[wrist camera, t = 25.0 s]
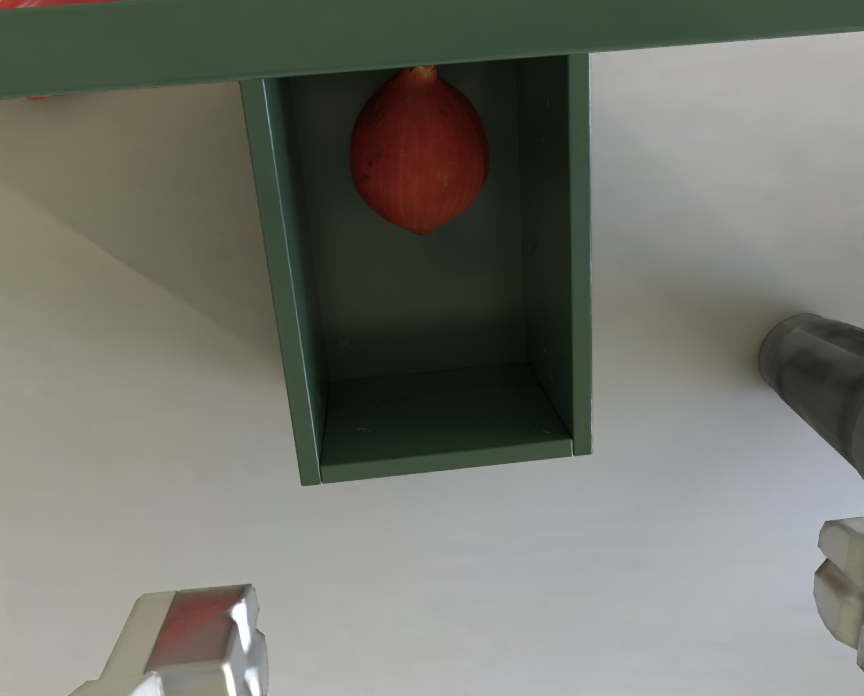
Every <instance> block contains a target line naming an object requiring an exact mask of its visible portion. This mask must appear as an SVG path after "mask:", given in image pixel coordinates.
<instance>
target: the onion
mask: <svg viewBox="0 0 864 696" xmlns="http://www.w3.org/2000/svg"><path fill="white" fill-rule="evenodd" d="M436 66H437V65H432V66H419V67H407V68H403V69H402V70H401V71H400V72H399V73H398V74H397V75H395V76H393V77H392V78H390V79H389V80H388V81H386V82H385V83H384V84H383V85H382V86H381V87H380V88H379V89H378V90H377V91H376V92H375V93H374V94H373V95H372V96H371V97H370V98H369V100H368V101H367V102H366V104H365V105H364V106H363V108H362V109H361V111H360V113H359V115H358V117H357V119H356V122H355V125H354V128H353V131H352V135H351V147H350V171H351V176H352V180H353V184H354V187H355V189H356V190H357V192H358V193H359V195H360V196H361V198H362V199H363V201H364V202H365V203H366V204H367V205H368V206H369V207H370V208H371V209H372V210H373V211H374V212H375V213H376V214H378V215H379V216H381V217H382V218H384V219H385V220H386V221H388V222H390V223H392V224H395V225H397V226H399V227H402V228H404V229H407V230H409V231H410V232H412V233H414V234H417V235H420V236H422V235H428V234H431V233H433V232H434V231H435V230H436V229H438V228H439V227H440V226H442V225H443V224H445V223H447V222H449V221H451V220H452V219H454V218H456V217H457V216H459V215H460V214H461V213H463V212H464V211H465V210H466V209H468V208H469V207H470V206H471V205H472V204H473V202H474V201H475V199H476V197H477V196H478V194H479V193H480V191H481V189H482V187H483V185H484V183H485V181H486V179H487V176H488V169H489V163H490V152H489V144H488V139H487V136H486V134H485V131H484V128H483V125H482V122H481V119H480V116H479V114H478V113H477V111H476V109H475V107H474V106H473V104H472V103H471V102H470V101H469V100H468V98H467V97H466V96H465V95H464V94H462V93H461V92H460V91H459V90H458V89H457V88H455V87H454V86H453V85H451V84H450V83H448V82H447V81H446V80H444V79H442V78H441V77H440V76H438V75H437V71H436Z"/></svg>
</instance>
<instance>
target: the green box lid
mask: <svg viewBox="0 0 864 696" xmlns="http://www.w3.org/2000/svg"><path fill="white" fill-rule="evenodd" d="M859 31H864V0H121V1H107V2H94V3H80V4H66V5H53V6H39V7H25V8H12V9H0V100H5V99H18V98H30V97H43V96H55V95H68V94H80V93H93V92H106V91H118V90H131V89H143V88H156V87H168V86H181V85H193V84H206V83H218V82H231V81H244V80H256V79H269V78H281V77H294V76H306V75H319V74H331V73H344V72H357V71H369V70H382V69H394V68H407V67H419V66H432V65H444V64H457V63H470V62H482V61H495V60H507V59H520V58H532V57H545V56H557V55H570V54H582V53H595V52H608V51H620V50H633V49H645V48H658V47H670V46H683V45H695V44H708V43H721V42H733V41H746V40H758V39H771V38H783V37H796V36H808V35H821V34H833V33H846V32H859Z"/></svg>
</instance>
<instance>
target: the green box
mask: <svg viewBox="0 0 864 696" xmlns="http://www.w3.org/2000/svg"><path fill="white" fill-rule="evenodd" d="M402 69H403V68H394V69H382V70H369V71H357V72H344V73H331V74H319V75H306V76H294V77H281V78H269V79H256V80H244V81H239V84H240V90H241V97H242V103H243V110H244V116H245V123H246V129H247V136H248V142H249V149H250V155H251V162H252V168H253V175H254V181H255V188H256V194H257V201H258V207H259V214H260V220H261V227H262V233H263V240H264V246H265V253H266V259H267V266H268V272H269V278H270V285H271V291H272V298H273V304H274V311H275V317H276V324H277V330H278V337H279V343H280V350H281V356H282V363H283V369H284V376H285V382H286V389H287V395H288V402H289V408H290V415H291V421H292V428H293V434H294V441H295V447H296V454H297V460H298V467H299V473H300V480H301V485H302V486H309V485H318V484H321V483H323V484H326V483H335V482H344V481H353V480H362V479H371V478H380V477H389V476H398V475H407V474H416V473H425V472H435V471H444V470H453V469H462V468H471V467H480V466H489V465H498V464H507V463H516V462H525V461H534V460H543V459H552V458H561V457H571V456H572V455H574V456H580V455H589V454H592V265H591V77H590V53H582V54H570V55H557V56H545V57H532V58H520V59H507V60H495V61H482V62H470V63H457V64H444V65H437V66H436V71H437V75H438V76H440V77H441V78H442V79H444V80H446V81H447V82H448V83H450V84H451V85H453V86H454V87H455V88H457V89H458V90H459V91H460V92H461V93H462V94H464V95H465V96H466V97H467V98H468V100H469V101H470V102H471V103H472V104H473V106H474V107H475V109H476V111H477V113H478V114H479V116H480V119H481V122H482V125H483V128H484V131H485V134H486V136H487V139H488V144H489V152H490V163H489V169H488V176H487V179H486V181H485V183H484V185H483V187H482V189H481V191H480V193H479V194H478V196H477V197H476V199H475V201H474V202H473V204H472V205H471V206H470V207H469V208H468V209H466V210H465V211H464V212H463V213H461V214H460V215H459V216H457V217H456V218H454V219H452V220H451V221H449V222H447V223H445V224H443V225H442V226H440V227H439V228H438V229H436V230H435V231H434V232H433V233H431V234H428V235H422V236H420V235H417V234H414V233H412V232H410V231H409V230H407V229H404V228H402V227H399V226H397V225H395V224H392V223H390V222H388V221H386V220H385V219H384V218H382V217H381V216H379V215H378V214H376V213H375V212H374V211H373V210H372V209H371V208H370V207H369V206H368V205H367V204H366V203H365V202H364V201H363V199H362V198H361V196H360V195H359V193H358V192H357V190H356V189H355V187H354V184H353V180H352V176H351V171H350V147H351V135H352V131H353V128H354V125H355V122H356V119H357V117H358V115H359V113H360V111H361V109H362V108H363V106H364V105H365V104H366V102H367V101H368V100H369V98H370V97H371V96H372V95H373V94H374V93H375V92H376V91H377V90H378V89H379V88H380V87H381V86H382V85H383V84H384V83H385V82H386V81H388V80H389V79H390V78H392V77H393V76H395V75H397V74H398V73H399V72H400V71H401V70H402Z"/></svg>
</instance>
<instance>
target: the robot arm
mask: <svg viewBox="0 0 864 696" xmlns="http://www.w3.org/2000/svg"><path fill="white" fill-rule="evenodd" d="M818 547H819V549H820V550H821V551H822V553H823V554H824V555H825V557H826V558H827V559H826V560H825V561H824V562H823V563H822V565H821V566H820V567H819V568H818V570H817V571H816V572H815V578H814V592H813V593H814V597H815V601H816V605H817V609H818V613H819V615H820V617H821V619H822V621H823V622H824V624H825V626H826V628H827V629H828V630H829V631H830V632H831V634H832V635H833V636H834V637H835V639H836V640H838V641H840V642H842V643H844V644H846V645H848V646H850V647H852V648H854V649H856V650H857V665H858V666H859V667H860V668H861V669H862V670H863V672H864V517H856V518H848V519H840V520H831V521H825V523H824V525H823V526H822V528H821V530H820V534H819V542H818ZM259 609H260V608H259V604H258V599H257V595H256V590H255V588H254V587H253V585H252V584H243V585H232V586H221V587H209V588H198V589H187V590H180V591H167V592H158V593H149V594H144V595H142V596H141V597H139V598H138V599H137V600H136V602H135V604H134V606H133V608H132V610H131V612H130V615H129V617H128V619H127V621H126V623H125V625H124V627H123V629H122V631H121V633H120V636H119V638H118V640H117V642H116V644H115V646H114V648H113V650H112V652H111V654H110V657H109V659H108V661H107V663H106V665H105V667H104V669H103V671H102V673H101V675H100V678H99V680H92V681H87V682H85V683H84V684H83V685H81V686H80V687H79V688H77V689H76V690H75V691H74V692H72V693H71V694H70V695H68V696H267V692H268V671H269V666H268V654H267V646H266V641H265V635H264V634H262V633H261V632H260V631H259V630H258V629H257V628H256V624H257V619H258V614H259Z"/></svg>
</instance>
